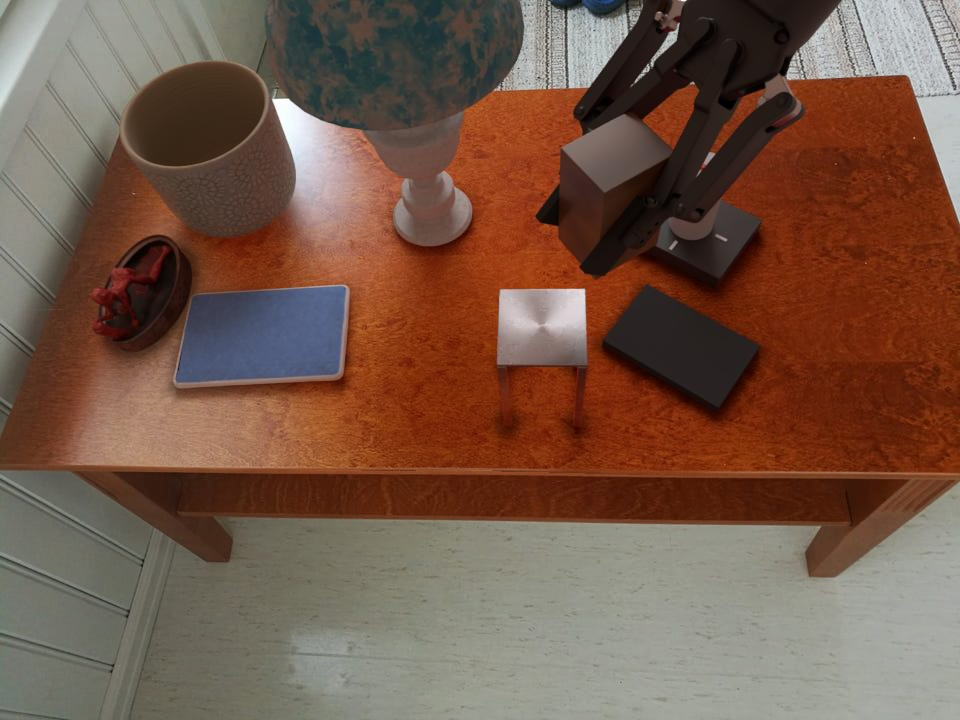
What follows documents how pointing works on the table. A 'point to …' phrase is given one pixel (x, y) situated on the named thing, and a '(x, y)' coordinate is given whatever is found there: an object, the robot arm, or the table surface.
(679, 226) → the oven dial
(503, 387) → the square metal stool
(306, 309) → the tablet
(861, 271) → the table surface
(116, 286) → the figurine
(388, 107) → the table lamp
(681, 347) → the mat
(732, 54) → the robot arm
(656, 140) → the block
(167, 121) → the planter
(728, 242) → the panel
